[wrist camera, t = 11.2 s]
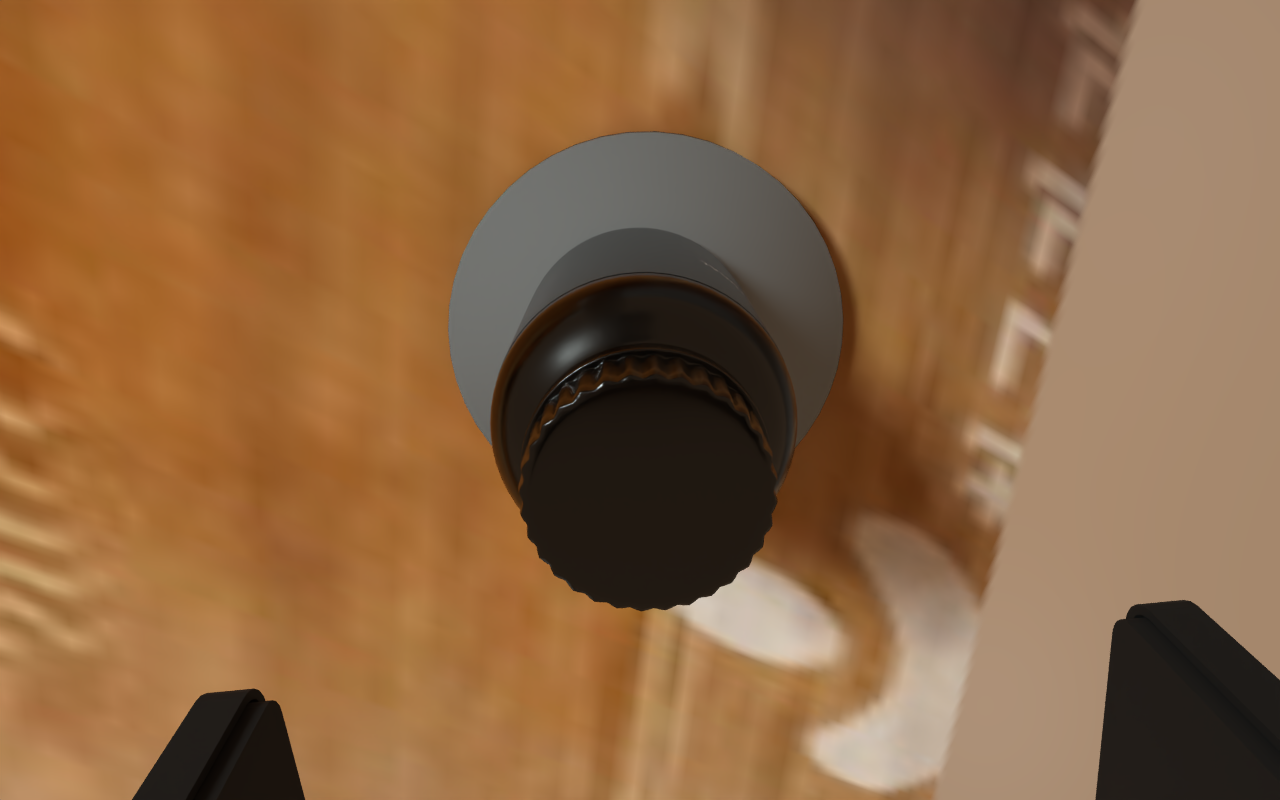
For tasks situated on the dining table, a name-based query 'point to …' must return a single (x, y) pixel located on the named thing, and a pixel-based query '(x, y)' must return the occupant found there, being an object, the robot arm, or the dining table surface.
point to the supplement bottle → (643, 421)
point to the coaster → (661, 199)
